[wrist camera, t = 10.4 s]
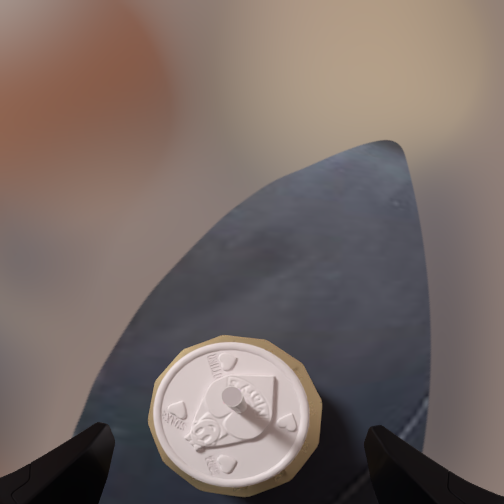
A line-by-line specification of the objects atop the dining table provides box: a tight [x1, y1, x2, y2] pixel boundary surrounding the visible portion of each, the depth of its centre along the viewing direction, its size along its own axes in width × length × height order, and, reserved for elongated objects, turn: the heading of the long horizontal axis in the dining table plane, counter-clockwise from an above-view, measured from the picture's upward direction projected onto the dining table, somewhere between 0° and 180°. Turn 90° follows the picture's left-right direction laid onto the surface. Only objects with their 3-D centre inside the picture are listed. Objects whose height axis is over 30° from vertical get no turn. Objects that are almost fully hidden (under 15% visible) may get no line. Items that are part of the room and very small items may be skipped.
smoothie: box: [153, 342, 310, 487], centre depth 13 cm, size 6×6×14 cm
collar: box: [148, 335, 322, 497], centre depth 17 cm, size 10×10×4 cm
